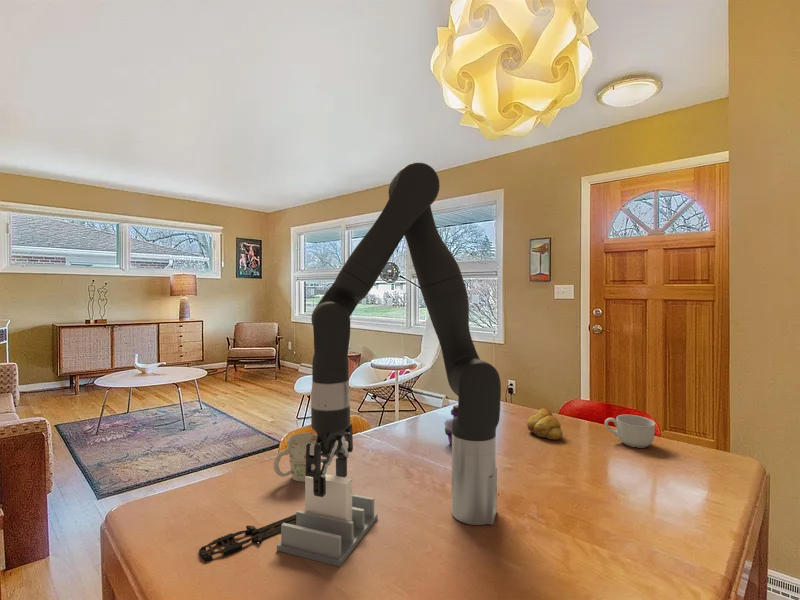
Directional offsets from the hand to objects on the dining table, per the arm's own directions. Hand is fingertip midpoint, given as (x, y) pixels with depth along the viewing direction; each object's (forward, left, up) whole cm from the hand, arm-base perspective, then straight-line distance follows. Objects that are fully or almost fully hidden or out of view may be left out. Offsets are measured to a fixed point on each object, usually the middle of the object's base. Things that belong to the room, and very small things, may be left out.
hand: (331, 485), depth 81 cm
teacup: (-64, -77, -10) cm, 100 cm away
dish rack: (0, 0, -9) cm, 9 cm away
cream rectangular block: (0, 0, -8) cm, 8 cm away
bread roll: (-39, -75, -10) cm, 85 cm away
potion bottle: (-13, -57, -10) cm, 59 cm away
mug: (+20, -18, -10) cm, 29 cm away
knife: (+12, +3, -10) cm, 16 cm away
